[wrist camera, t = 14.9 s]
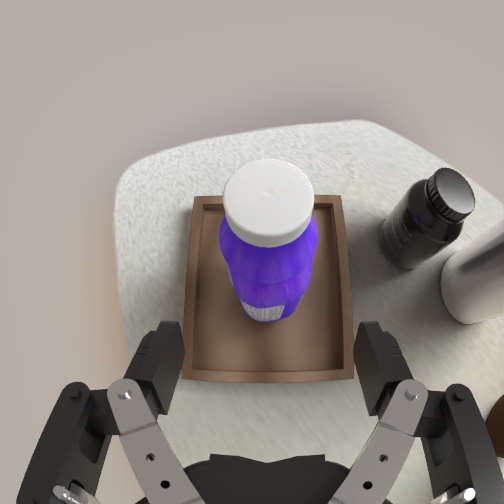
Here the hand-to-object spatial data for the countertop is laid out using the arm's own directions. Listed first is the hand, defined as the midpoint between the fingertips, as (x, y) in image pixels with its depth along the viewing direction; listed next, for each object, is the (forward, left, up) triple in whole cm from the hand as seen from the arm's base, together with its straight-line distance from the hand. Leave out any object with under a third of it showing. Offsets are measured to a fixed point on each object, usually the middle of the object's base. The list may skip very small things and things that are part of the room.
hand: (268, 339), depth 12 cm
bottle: (0, -6, -16) cm, 17 cm away
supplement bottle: (-16, -11, -17) cm, 26 cm away
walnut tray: (0, -6, -16) cm, 17 cm away
